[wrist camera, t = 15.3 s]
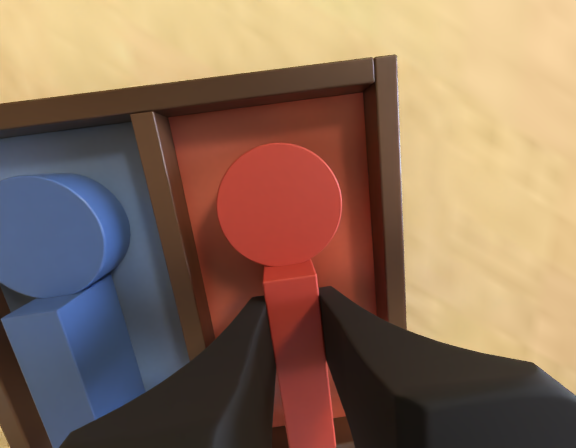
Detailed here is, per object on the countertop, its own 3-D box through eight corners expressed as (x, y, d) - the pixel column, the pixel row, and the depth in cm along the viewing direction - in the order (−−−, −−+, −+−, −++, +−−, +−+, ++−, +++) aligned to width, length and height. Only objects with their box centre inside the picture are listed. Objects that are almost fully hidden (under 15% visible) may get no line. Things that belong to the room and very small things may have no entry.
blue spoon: (179, 408, 13) (152, 477, 10) (87, 421, 13) (33, 496, 10) (115, 166, 11) (55, 167, 8) (0, 180, 11) (-104, 187, 8)
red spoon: (349, 382, 13) (370, 444, 10) (259, 396, 13) (256, 461, 10) (326, 138, 11) (346, 129, 8) (215, 153, 11) (193, 149, 8)
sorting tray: (392, 407, 15) (411, 446, 13) (68, 456, 15) (34, 505, 12) (375, 73, 11) (398, 53, 9) (-61, 128, 11) (-139, 120, 9)
